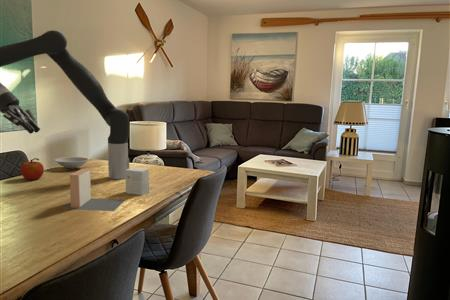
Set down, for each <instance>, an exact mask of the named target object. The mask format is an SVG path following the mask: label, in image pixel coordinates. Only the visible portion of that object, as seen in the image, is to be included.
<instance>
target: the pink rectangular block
mask: <svg viewBox="0 0 450 300" xmlns="http://www.w3.org/2000/svg"><path fill="white" fill-rule="evenodd" d="M91 187H92V184H91V168H81V169H79V170H77V171H75V172H73V173H70V174H69V190H70V191H69V193H70V203H71V208H80V207H81V206H83V205H84V204H86V203H87V202H88V201H90V200H91V198H92V190H91V189H92V188H91Z"/></svg>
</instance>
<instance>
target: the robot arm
mask: <svg viewBox="0 0 450 300" xmlns="http://www.w3.org/2000/svg"><path fill="white" fill-rule="evenodd" d="M67 45H68V40H67V38H66V36H65V35H64V34H63V33H62V32H61V31H58V30H54V29H53V30H47V31H46V32H44V33H42V34H41V35H38V36H37V37H34V38H30V39H28V40H27V39H26V40H24V41H20V42H16V43H11V44H7V45H2V46H0V68H1V67H5V66H9V65H13V64H14V63H17V62H20V61H23V60H26V59H29V58H32V57H35V56H40V55H45V54H46V55H47V56H48V57H49V58H50V59H51V60H52V61H53V62H55V64H57V66H58V67H59V68H60V69H61V70H62V72H63V73H64V74H65V76H66V77H67V78H68V79H69V80H70V81H71V83H72V85H74V87H75V88H76V89H77V90H78V91H79V92H80V94H81V95H82V96H84V98H85V99H86V100H87V101H88V102H89V103H90V104H91V105H92V106H93V107H94V109H96V110H97V112H98V113H99V114H100V116H101V117H102V118H103V119H102V120H103V121H104V122H105V124H107V126H109V131H110V132H109V135H108V137H107V155H108V156H107V157H108V158H107V161H108V162H107V164H108V166H107V167H108V172H107V173H108V179H111V180H126V179H125V170H126V169H129V168H130V158H129V149H128V147H129V143H128V142H129V141H128V140H129V136H130V116H129V114H128V113H127V112H126V111H124V110H123V109H118V108H117V107H116V106H115V105H114V104H112V102H111V101H110V99H109V98H108V96H107V95H106V93H105V91H104V89H103V86H102V85H101V83H100V81H99V80H98V79H97V78H96V76H94V74H93V73H92V72H91V71H90V70H89V69H88V68H87V67H85V66H84V65H83V64H82V63H81V62H80V61H78V60H77V59H75V57H74V56H73V55H72V54H71V53H70V52H69V50H68V49H67ZM0 113H2V114H3V115H2V116H3V118H5V119H6V120H8V121H10V122H11V123H12V124H14V125H15V126H17V127H19V126H20V127H21V128H24V129H25V130H26V132H28V134H33V133H39V131H40V130H41V127H39V126H38V124H37V123H35V121H36V120H37V119H36V118H35V116H34V115H33V113H32V112H31V110H30V109H26V110H25V109H24V108H23V107H21V106H20V99H19V98H18V97H17V96H16V95H14V94H13V93H12V91H10V89H8V87H6V86H5V85H4V84H2V83H1V82H0Z"/></svg>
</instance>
